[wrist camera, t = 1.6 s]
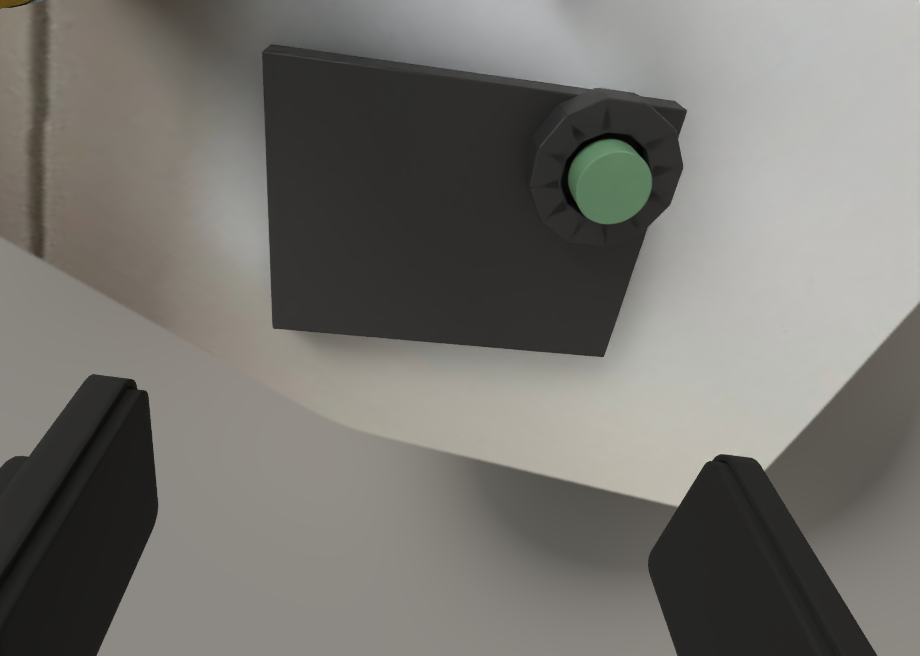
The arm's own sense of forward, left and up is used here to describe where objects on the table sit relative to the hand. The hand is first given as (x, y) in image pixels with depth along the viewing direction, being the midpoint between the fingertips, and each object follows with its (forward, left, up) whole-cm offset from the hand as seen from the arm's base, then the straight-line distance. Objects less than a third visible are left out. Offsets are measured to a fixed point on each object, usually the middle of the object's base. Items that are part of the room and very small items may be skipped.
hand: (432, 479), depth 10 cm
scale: (-2, +3, -18) cm, 18 cm away
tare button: (-7, -1, -15) cm, 17 cm away
